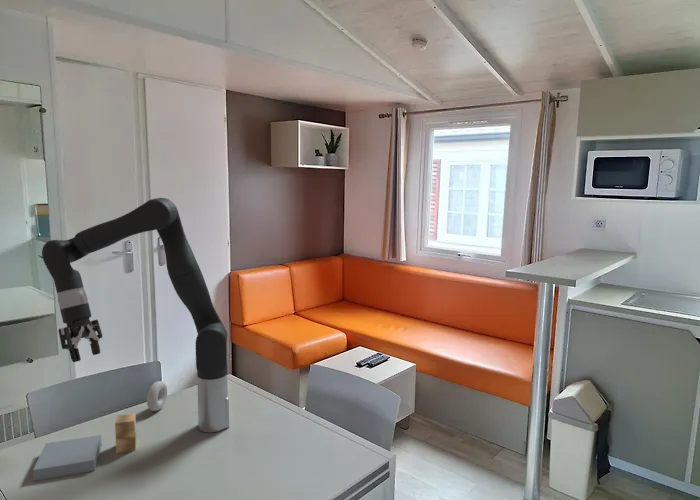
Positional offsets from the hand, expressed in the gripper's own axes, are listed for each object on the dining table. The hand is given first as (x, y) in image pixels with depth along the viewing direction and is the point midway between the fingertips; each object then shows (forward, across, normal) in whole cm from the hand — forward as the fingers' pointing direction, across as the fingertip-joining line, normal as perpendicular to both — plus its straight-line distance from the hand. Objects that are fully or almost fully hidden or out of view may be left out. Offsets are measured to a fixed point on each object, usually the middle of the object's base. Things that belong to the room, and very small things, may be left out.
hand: (87, 357), depth 140 cm
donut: (+25, +23, -3) cm, 34 cm away
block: (+28, -1, -6) cm, 29 cm away
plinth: (+26, -11, +4) cm, 28 cm away
